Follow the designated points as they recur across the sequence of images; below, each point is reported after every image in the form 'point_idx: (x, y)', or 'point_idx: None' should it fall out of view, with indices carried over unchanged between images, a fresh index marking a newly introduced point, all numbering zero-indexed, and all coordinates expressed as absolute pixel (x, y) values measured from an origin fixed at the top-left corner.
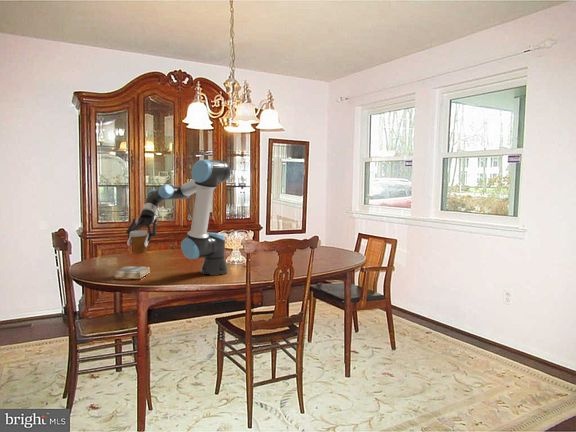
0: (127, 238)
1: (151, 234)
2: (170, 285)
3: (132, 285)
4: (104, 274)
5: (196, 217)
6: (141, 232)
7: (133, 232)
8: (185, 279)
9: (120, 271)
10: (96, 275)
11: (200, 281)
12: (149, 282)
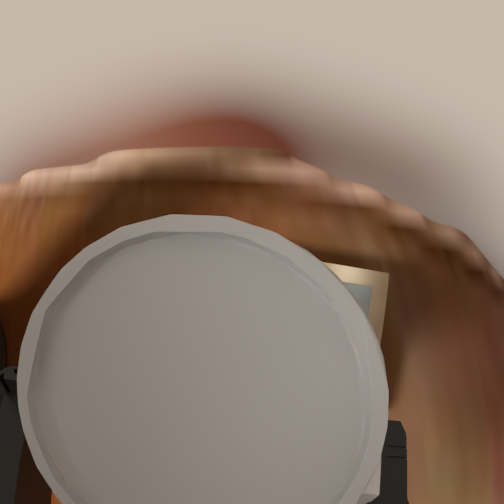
0: (403, 428)
1: (15, 391)
2: (110, 167)
3: (257, 166)
4: (450, 395)
5: None
6: (95, 244)
7: (299, 382)
8: (54, 257)
9: (357, 284)
10: (478, 370)
11: (21, 223)
12: (188, 212)
